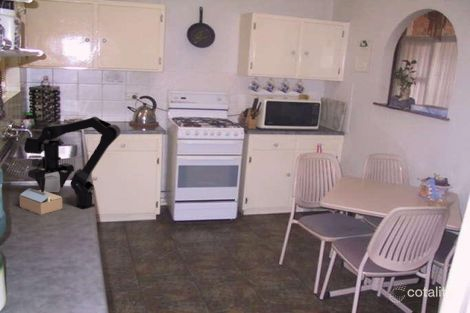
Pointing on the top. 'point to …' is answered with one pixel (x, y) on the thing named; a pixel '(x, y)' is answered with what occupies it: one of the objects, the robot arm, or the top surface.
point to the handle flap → (35, 195)
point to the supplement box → (52, 182)
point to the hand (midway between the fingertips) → (52, 190)
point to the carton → (42, 204)
